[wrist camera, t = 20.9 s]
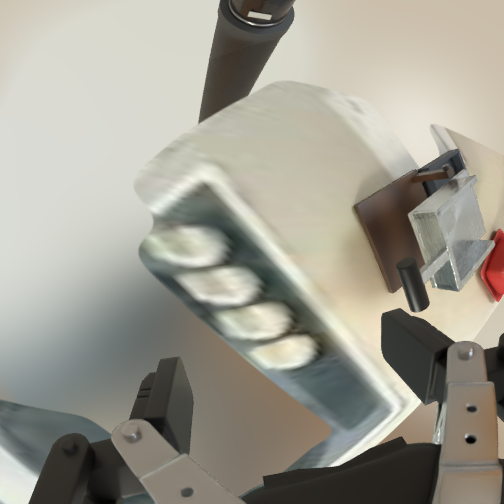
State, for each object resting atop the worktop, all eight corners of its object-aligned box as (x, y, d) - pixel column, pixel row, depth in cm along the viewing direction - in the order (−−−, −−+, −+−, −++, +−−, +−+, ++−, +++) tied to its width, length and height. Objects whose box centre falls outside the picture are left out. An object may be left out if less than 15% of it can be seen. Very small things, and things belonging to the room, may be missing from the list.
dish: (395, 323, 32) (426, 332, 28) (365, 245, 31) (398, 246, 26) (482, 231, 38) (507, 231, 33) (462, 169, 36) (489, 164, 31)
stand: (389, 292, 43) (427, 305, 35) (353, 205, 41) (390, 202, 32) (441, 249, 45) (479, 254, 37) (412, 170, 43) (451, 162, 34)
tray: (418, 169, 43) (428, 167, 40) (448, 150, 44) (458, 148, 42) (445, 244, 45) (455, 245, 43) (472, 219, 46) (482, 219, 44)
